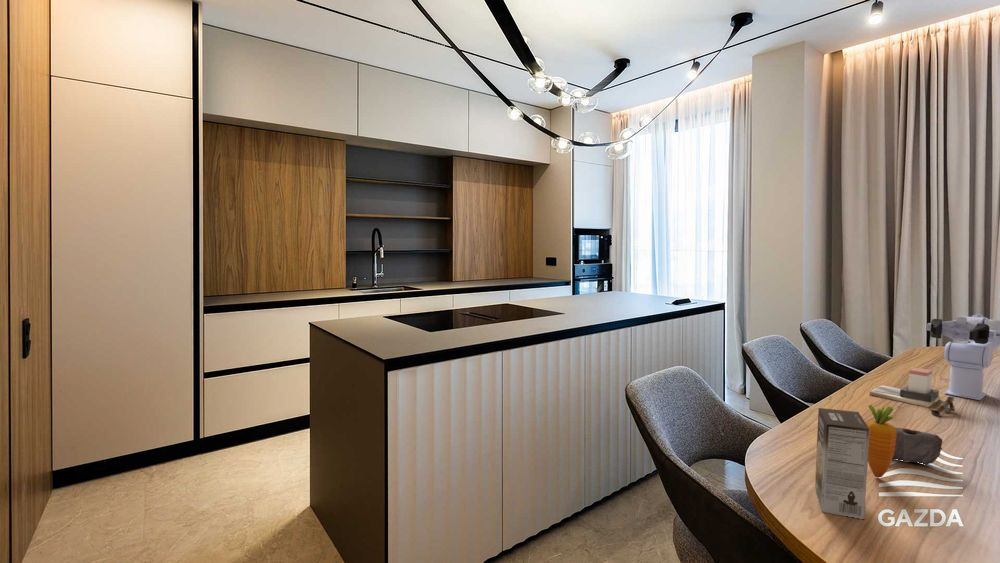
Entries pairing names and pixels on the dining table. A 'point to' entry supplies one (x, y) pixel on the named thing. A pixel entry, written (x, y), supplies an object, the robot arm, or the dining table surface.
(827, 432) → the coffee box
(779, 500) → the dining table surface
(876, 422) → the carrot
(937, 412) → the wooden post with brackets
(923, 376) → the plug
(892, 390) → the board
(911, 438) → the perforated stone tool
